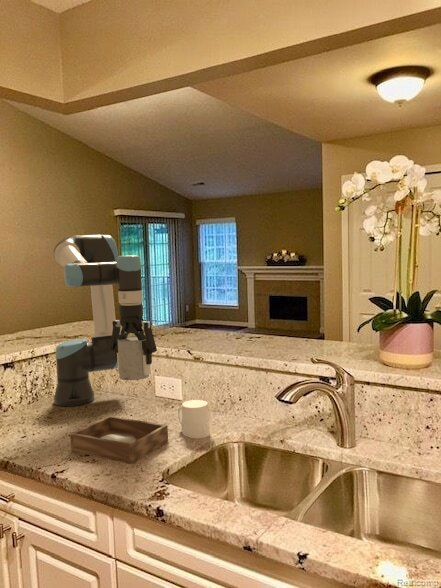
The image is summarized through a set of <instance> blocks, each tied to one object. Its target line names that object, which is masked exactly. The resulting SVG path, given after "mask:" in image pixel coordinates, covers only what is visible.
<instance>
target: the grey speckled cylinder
mask: <svg viewBox="0 0 441 588" xmlns="http://www.w3.org/2000/svg"><path fill="white" fill-rule="evenodd" d="M145 340H146V339H145ZM117 341H118V358H119V376H118V378H119V379H120V380H122V381H139V380H144V379H147V378H149V377H150V374H148V375H144V371H143V355H144V354H145V353H144V351H143V349H142V341H144V340H140V341H139V340H138V338H137V336H135V335H133V336H127V338H125V339H122V340H119V339H118V340H117Z"/></svg>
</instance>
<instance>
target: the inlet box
mask: <svg viewBox="0 0 441 588" xmlns="http://www.w3.org/2000/svg"><path fill="white" fill-rule="evenodd" d="M69 434H70V437H69V438H70V451H71V452H75V453H78V454H84V455H88V456H93V457H97V458H103V459H108V460H113V461H116V462H122V463H127V464H131V465H134V464H136V463H137V462H138V461H139V460H141V459H144V457H147V456H148V455H149V454H151V453H152V452H154V451H156V450H158V448H160V447H162V446H163V445H165V444H166V443H168V442H169V427H168V424H164V423H157V422H150V421H145V420H144V421H143V420H140V419H139V420H137V419H131V418H126V417H118V416H112V415H108V416H106V417H104V418H102V419H99V420H98V421H95V422H93V423H91V424H88V425H87V426H84V427H83V428H80V429H79V430H75V431H73V432H72V433H69Z"/></svg>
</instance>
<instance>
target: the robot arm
mask: <svg viewBox="0 0 441 588" xmlns="http://www.w3.org/2000/svg"><path fill="white" fill-rule="evenodd" d="M52 254H53V258H54V260H55V261H56V263H57V264H59V265H60V266H61V267H63V281H64V285H65V287H69V288H70V287H73V288H79V287H90V295H91V305H92V306H91V307H92V316H93V317H92V318H93V327H94V333H93V334H92V335H91V337H90V339H91V341H87V339H86V338H75V339H69V340H66V341H63V342H61V343H59V344H58V345H56V348H55V359H56V378H57V380H56V381H57V384H56V388H55V393H54V395H53V404H54V405H56V406H58V407H59V406H60V407H76V406H82V405H87V404H88V403H91V402H93V401H94V400H95V391H94V390H93V387H92V384H91V382H90V377H89V376H90V375H89V373H93V372H94V373H95V372H101V371H108V370H109V371H110V370H115V369H117V373H119V358H118V341H117V340H118V339H119V340H122V339H125V338H127V337H129V336H128V335H130V334H134V336H137V338H138V340H139V341H140V340H144V341H142V349H143V351H144V353H145V354H144V355H143V371H144V375H148V374H149V375H150V374H151V373H152V372H151V371H152V370H151V365H152V363H153V357H152V354H153V353H157V352H158V349H157V345H156V341H155V337H154V333H153V329H152V323H153V322H152V321H151V320H149V321H144V319H143V316H144V305H143V302H144V300H143V299H144V297H143V281H142V261H141V257H140V256H139V255H119V251H118V247H117V243H116V241H115V239H114V238H113V237H112V236H111V235H109V234H81V235H80V234H73V235H69V236H66V237H64V238H62V239H60V240H58V242H57V243H56V244H55V246H54V249H53V253H52ZM113 285H117V293H118V303H119V306H118V315H119V317H120V319H116V318H117V317H116V309H115V298H114V290H113V287H114V286H113ZM121 327H122V328H121ZM145 339H146V340H145Z"/></svg>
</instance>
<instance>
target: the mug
mask: <svg viewBox="0 0 441 588" xmlns="http://www.w3.org/2000/svg"><path fill="white" fill-rule="evenodd" d="M177 417H178V420H179V423H180V427H181V430H180V431H182V432H181V434H182V435H183V436H185V437H188V438H190V439H191V438H192V439H204V438H207V437H209V436H210V434H211V433H210V432H211V431H210V422H209V421H210V414H209V403H208V402H207V401H206V400H204V399H203V400H202V399H192V400H186V401H184V402H182V404H181V406H179V408H178V410H177Z"/></svg>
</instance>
